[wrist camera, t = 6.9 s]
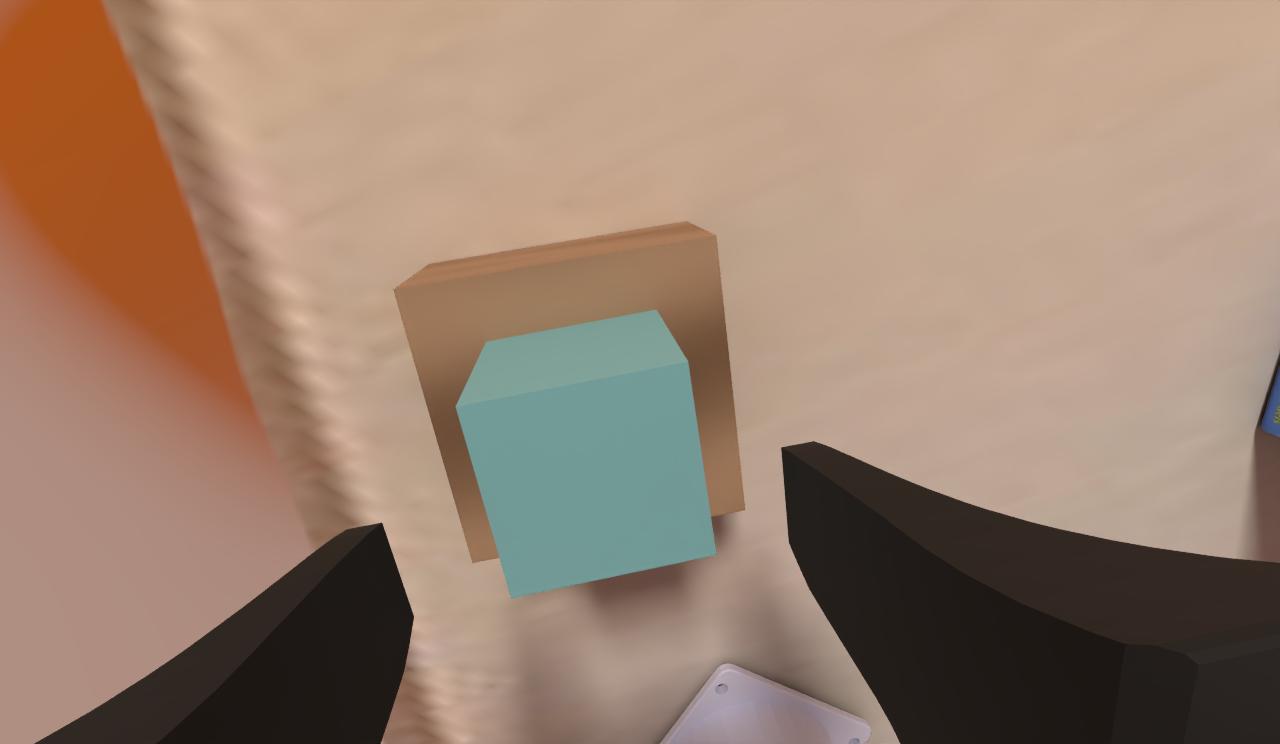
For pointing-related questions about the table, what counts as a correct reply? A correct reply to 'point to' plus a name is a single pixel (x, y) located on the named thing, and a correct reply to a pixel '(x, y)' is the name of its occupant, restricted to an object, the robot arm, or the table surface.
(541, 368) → the teal cube
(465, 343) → the walnut block
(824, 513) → the robot arm
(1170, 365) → the table surface
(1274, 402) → the medicine box
